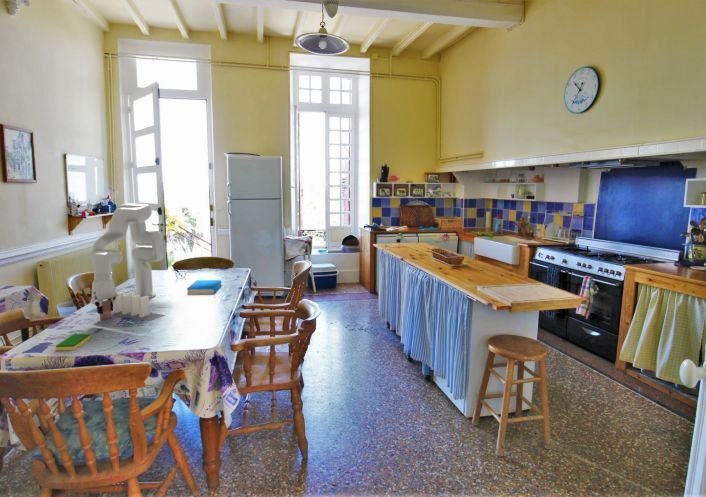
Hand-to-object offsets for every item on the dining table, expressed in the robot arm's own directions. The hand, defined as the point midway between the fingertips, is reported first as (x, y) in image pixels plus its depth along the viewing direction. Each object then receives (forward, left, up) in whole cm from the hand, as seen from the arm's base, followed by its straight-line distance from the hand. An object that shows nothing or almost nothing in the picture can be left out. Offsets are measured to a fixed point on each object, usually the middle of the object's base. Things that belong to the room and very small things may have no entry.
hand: (105, 311), depth 209 cm
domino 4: (+8, +11, -3) cm, 14 cm away
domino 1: (0, 0, -5) cm, 5 cm away
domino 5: (+14, +11, -3) cm, 18 cm away
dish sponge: (+16, -28, -5) cm, 33 cm away
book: (+1, +72, -5) cm, 73 cm away
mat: (+8, +11, -4) cm, 14 cm away
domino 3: (+2, +11, -3) cm, 12 cm away
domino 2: (-4, +11, -3) cm, 12 cm away
